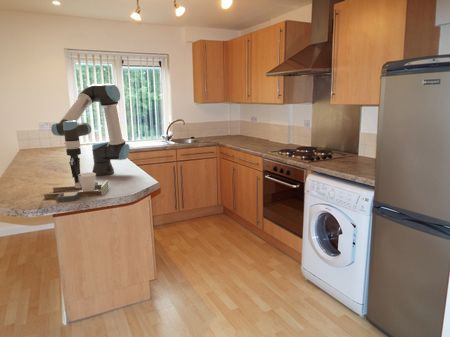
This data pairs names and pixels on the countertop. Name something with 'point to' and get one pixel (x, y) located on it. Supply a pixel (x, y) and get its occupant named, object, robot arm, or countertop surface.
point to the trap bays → (70, 198)
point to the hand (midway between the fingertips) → (78, 187)
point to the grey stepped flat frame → (72, 188)
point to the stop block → (104, 187)
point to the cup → (87, 181)
